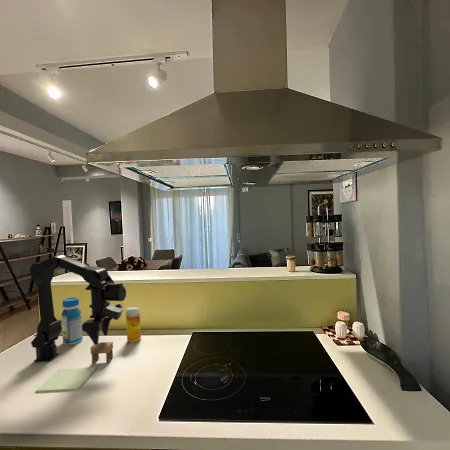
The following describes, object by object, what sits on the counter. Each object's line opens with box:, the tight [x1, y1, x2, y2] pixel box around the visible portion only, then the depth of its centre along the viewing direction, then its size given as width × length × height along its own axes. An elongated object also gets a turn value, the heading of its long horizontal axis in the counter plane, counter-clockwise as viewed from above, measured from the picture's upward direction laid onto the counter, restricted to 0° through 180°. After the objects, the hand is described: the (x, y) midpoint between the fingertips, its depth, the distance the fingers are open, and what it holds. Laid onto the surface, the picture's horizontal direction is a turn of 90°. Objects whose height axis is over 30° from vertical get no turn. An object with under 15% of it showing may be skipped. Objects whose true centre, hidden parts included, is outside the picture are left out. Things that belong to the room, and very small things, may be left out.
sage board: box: [35, 366, 97, 393], centre depth 105 cm, size 14×14×1 cm
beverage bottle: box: [60, 296, 84, 346], centre depth 138 cm, size 8×8×20 cm
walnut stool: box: [89, 341, 114, 365], centre depth 118 cm, size 7×4×6 cm, turn 91°
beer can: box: [125, 306, 142, 344], centre depth 137 cm, size 6×6×15 cm
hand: (101, 339), depth 118 cm, fingers open, 9 cm apart
